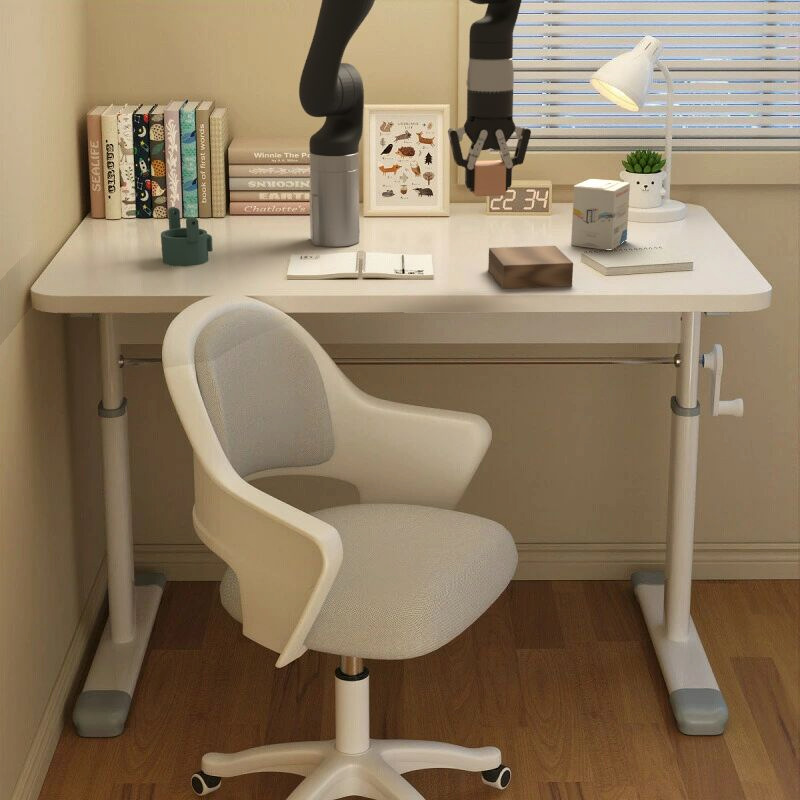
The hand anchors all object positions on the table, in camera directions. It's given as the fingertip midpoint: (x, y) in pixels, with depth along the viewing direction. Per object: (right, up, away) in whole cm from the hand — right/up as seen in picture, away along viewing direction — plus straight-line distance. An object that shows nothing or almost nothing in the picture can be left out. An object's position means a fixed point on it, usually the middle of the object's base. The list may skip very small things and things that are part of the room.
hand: (488, 190), depth 210 cm
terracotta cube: (0, 0, 0) cm, 0 cm away
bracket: (-54, -10, +19) cm, 58 cm away
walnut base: (+8, -14, +8) cm, 18 cm away
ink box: (+23, -5, +31) cm, 39 cm away
